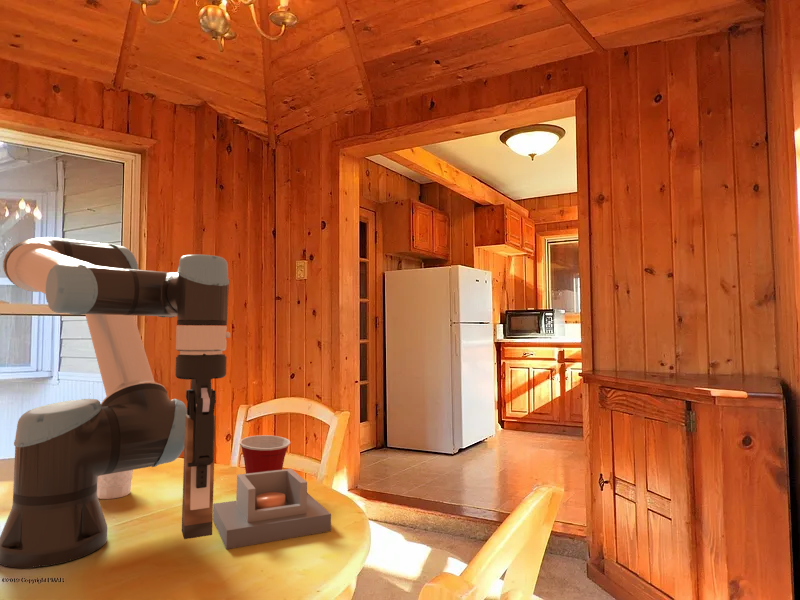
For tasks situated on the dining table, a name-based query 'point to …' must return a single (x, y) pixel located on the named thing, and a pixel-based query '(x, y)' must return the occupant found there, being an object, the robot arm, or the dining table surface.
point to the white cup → (114, 485)
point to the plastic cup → (264, 453)
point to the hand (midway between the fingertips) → (197, 503)
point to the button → (270, 500)
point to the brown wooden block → (192, 520)
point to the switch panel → (269, 511)
